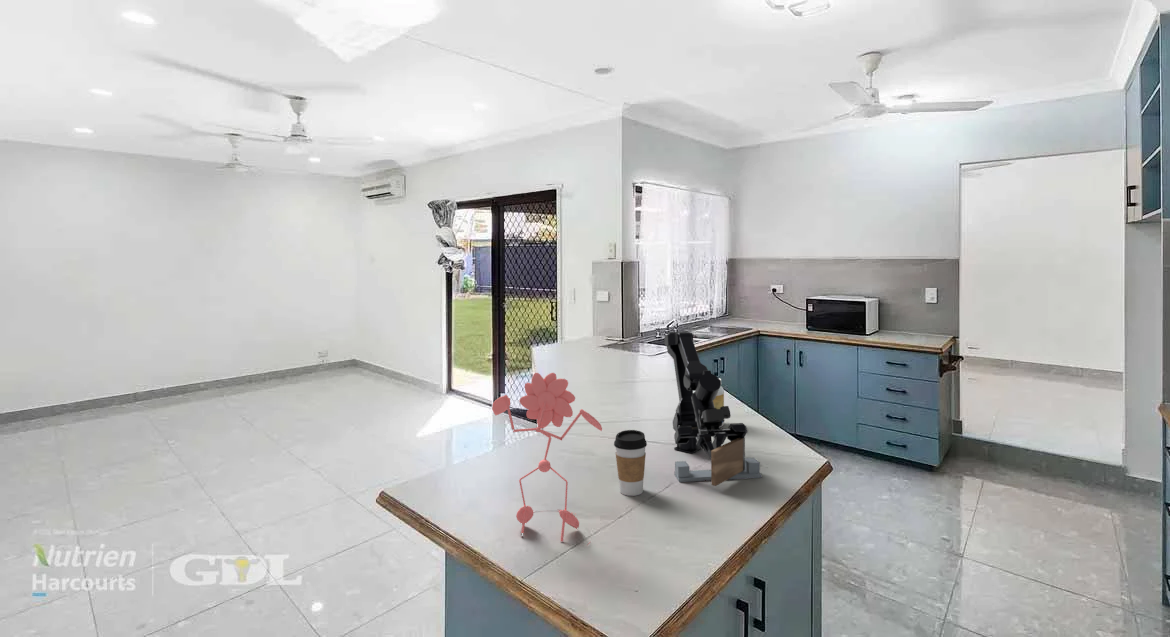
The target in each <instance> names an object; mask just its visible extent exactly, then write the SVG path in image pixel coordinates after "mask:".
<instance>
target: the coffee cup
mask: <svg viewBox="0 0 1170 637" xmlns="http://www.w3.org/2000/svg"><path fill="white" fill-rule="evenodd" d="M613 446H614V447H615V461H616V467H617V468H616V469H617V476H618V477H617V478H618V485H619V486H618V487H619V493H620V494H622V495H624V496H627V497H633V496H634V497H635V496H639V495H641V494H643V492H644V478H645V468H646V467H645V466H646V454H647V453H646V447H647V446H648V443H647V440H646V435H645V433H644V432H642V431H640V430H637V429H636V430H635V429H625V430H622V431H619V432H617V434H616V435H615V440H614V442H613Z"/></svg>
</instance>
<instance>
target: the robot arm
mask: <svg viewBox="0 0 1170 637" xmlns="http://www.w3.org/2000/svg"><path fill="white" fill-rule="evenodd" d="M693 335H694V334H693V333H692V332H690V331H686V330H685V331H668V332H667V334H666V335H664V339H663V340H664V342H663V343H664V345H665V347H666V351H667V354H669V356H670V357H671V358H672V360H673V366H674V371H675V372H674V373H675V380H676V386H677V392H678V399H679V402H678V404H677V406H676V409H675V413H674V415H673V419H672V429H673V430H674V431H675V433H674V437H673V438H674V442H675V445H676V446H675V447H674V448H673V449H674V450H675V451H680V452H684V453H689V454H693V453H696V452H697V451H699V450H701V449H702V450H704V452H705V453H706V454H707V455H708V457H709V458H710V459H711V451H712V450H714V449H716V448H718V447H720V446H722V445H724V443H725V442H726V439H727V440H729V442H731V441H733V440H735V439H737V438H739V437H741V438H744V437H745V436H746V435H747V433H748V428H747V425H745V423H743V422H734V423H730V424H729V426H728V428H721V427H720V426H722V421H724V422H725V420H726V419H727V420H729V419H730V418H731V410H730V408H729V405H724V406H722V407H720V409H716V408H715V406H714V402H713V400H714V399H715V398H716V395H717V393H718V391H719V389H720V386H722V384H721V383H722V380H721V381H720V379H721V378H720V379H719V377H718V376H717V375H715V374H713V373H712V371H711V369H710V370H708V367H707V366H706V365H704V364H703V363H701V360H700V357H699V355H698V352H697V349H696V347H695V346H696V345H695V342H694V336H693ZM693 391H695V392H694V393H693ZM722 427H723V426H722ZM745 438H746V437H745ZM712 439H713V440H712Z"/></svg>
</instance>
